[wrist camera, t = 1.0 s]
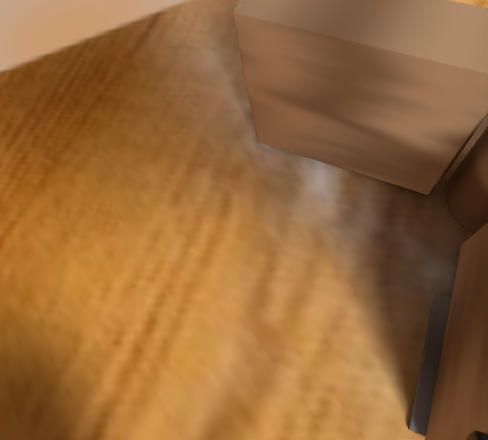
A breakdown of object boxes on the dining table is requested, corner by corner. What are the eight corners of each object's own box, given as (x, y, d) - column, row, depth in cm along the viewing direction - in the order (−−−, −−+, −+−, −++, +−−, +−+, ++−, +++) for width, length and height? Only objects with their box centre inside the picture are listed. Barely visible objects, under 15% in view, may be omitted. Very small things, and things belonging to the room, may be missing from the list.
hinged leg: (449, 155, 22) (540, 19, 13) (436, 197, 21) (522, 81, 13) (274, 105, 24) (259, -39, 16) (258, 141, 24) (232, 12, 15)
